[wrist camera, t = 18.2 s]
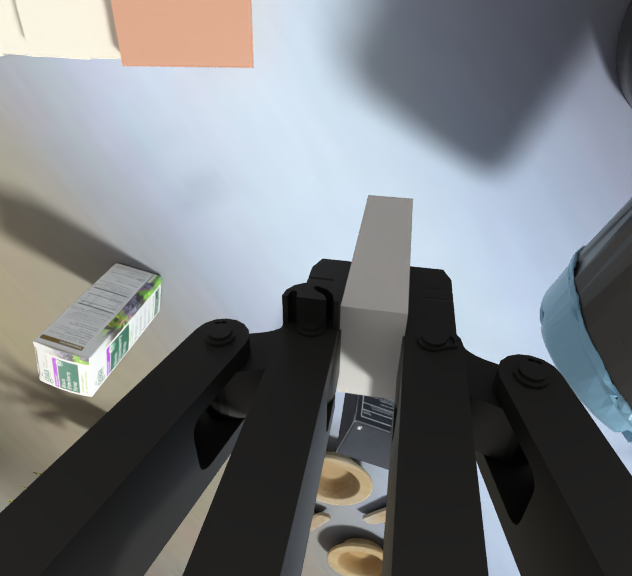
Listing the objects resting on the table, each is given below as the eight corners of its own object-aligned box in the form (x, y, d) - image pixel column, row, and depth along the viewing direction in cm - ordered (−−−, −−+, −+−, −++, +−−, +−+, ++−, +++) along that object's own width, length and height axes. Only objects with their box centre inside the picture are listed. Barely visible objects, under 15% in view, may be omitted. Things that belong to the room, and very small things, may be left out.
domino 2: (155, -13, 35) (9, -21, 33) (163, 60, 38) (30, 56, 36) (157, -14, 37) (19, -22, 35) (165, 55, 40) (38, 51, 38)
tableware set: (218, 501, 80) (210, 523, 77) (297, 413, 64) (291, 437, 60) (386, 581, 85) (385, 606, 82) (499, 519, 69) (503, 547, 66)
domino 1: (78, -11, 36) (-70, -26, 34) (90, 59, 39) (-46, 50, 37) (84, -13, 38) (-55, -27, 36) (95, 54, 41) (-34, 45, 39)
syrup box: (160, 312, 57) (94, 400, 45) (115, 298, 57) (36, 383, 45) (162, 275, 53) (91, 360, 42) (114, 260, 54) (28, 341, 42)
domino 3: (251, -7, 34) (108, -12, 33) (253, 67, 37) (122, 65, 35) (249, -8, 36) (114, -13, 35) (252, 62, 39) (127, 60, 37)
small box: (344, 384, 58) (332, 454, 50) (362, 348, 55) (352, 418, 46) (422, 411, 59) (424, 486, 50) (445, 378, 55) (451, 453, 46)
